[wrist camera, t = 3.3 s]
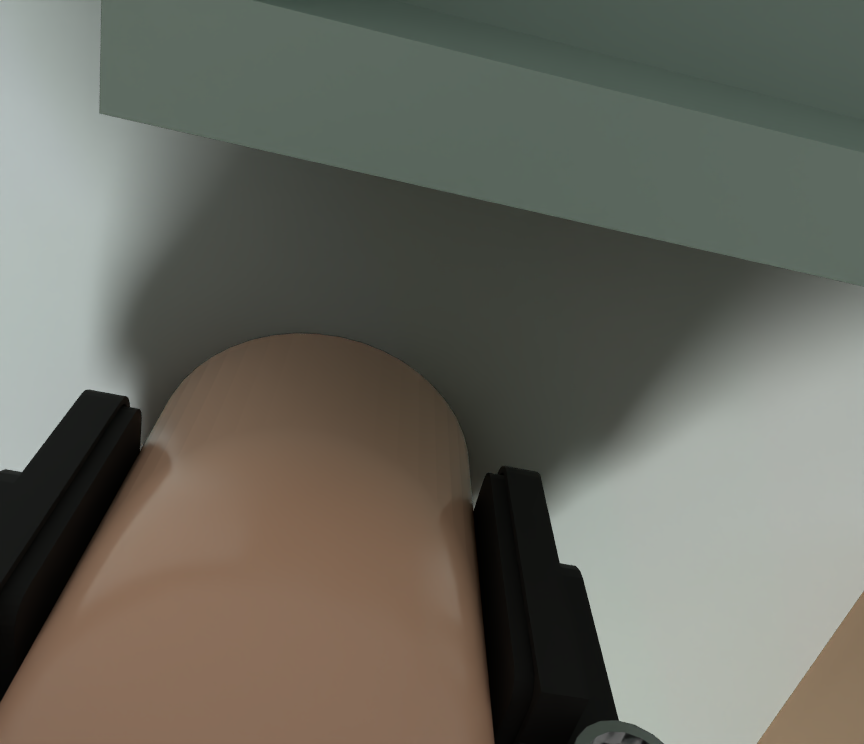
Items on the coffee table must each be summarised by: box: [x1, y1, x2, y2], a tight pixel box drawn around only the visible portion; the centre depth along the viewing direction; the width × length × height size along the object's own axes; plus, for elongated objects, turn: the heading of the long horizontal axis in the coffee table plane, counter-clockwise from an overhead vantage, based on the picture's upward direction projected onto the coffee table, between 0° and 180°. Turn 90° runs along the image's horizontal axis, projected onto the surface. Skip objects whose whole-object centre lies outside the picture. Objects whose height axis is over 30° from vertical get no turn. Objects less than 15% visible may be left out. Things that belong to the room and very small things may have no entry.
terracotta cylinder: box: [0, 333, 495, 744], centre depth 9 cm, size 5×5×7 cm
